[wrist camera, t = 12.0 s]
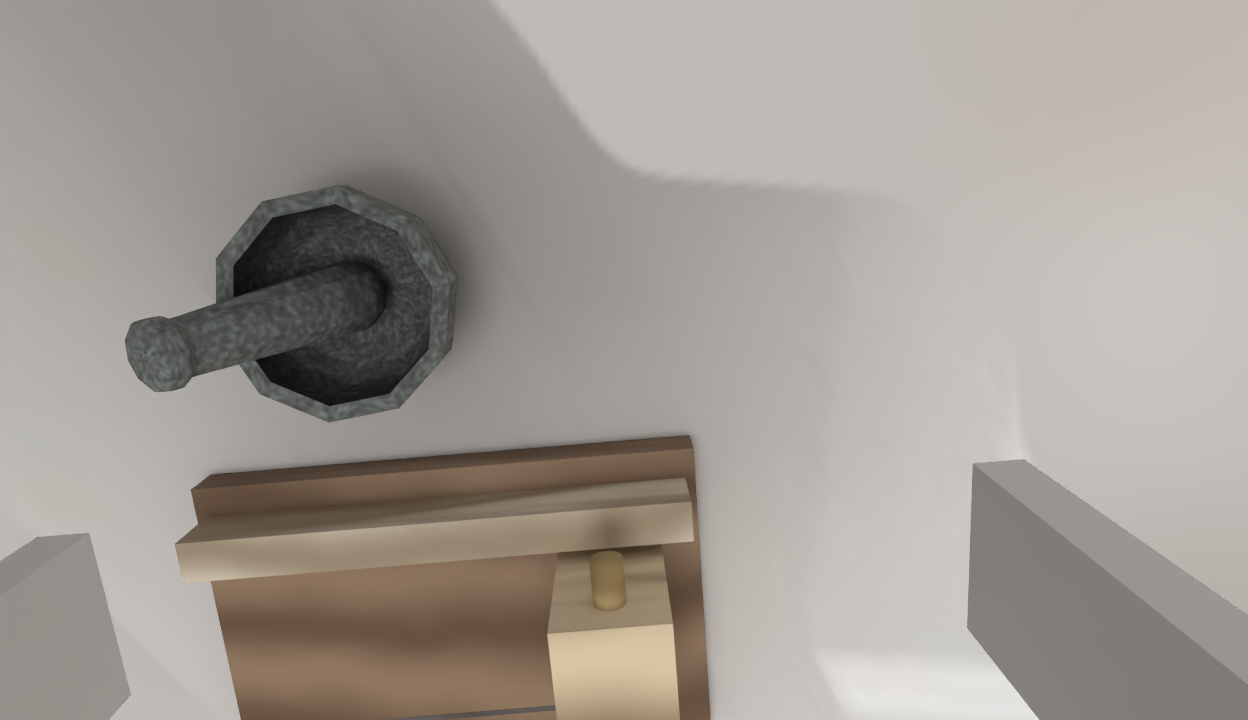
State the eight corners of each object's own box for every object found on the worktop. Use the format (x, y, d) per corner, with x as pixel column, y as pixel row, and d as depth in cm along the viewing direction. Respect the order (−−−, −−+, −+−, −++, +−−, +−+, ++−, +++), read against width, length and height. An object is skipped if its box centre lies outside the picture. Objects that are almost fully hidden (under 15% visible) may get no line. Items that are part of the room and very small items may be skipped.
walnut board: (210, 474, 41) (156, 514, 36) (689, 435, 41) (700, 470, 36) (269, 754, 45) (228, 825, 40) (707, 718, 45) (719, 784, 40)
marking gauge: (556, 497, 39) (542, 588, 31) (655, 488, 39) (669, 577, 31) (579, 708, 42) (571, 847, 33) (671, 701, 42) (688, 838, 33)
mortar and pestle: (453, 169, 38) (383, 166, 26) (499, 356, 40) (453, 430, 28) (226, 217, 38) (57, 235, 26) (284, 400, 40) (151, 491, 28)
